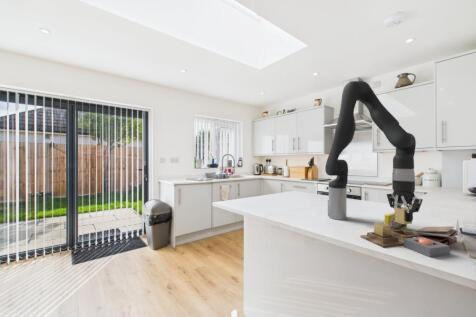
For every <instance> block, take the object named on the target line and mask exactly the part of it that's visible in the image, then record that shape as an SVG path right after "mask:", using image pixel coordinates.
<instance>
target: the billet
mask: <svg viewBox="0 0 476 317" xmlns="http://www.w3.org/2000/svg"><path fill="white" fill-rule="evenodd" d="M394 213H395V222H398V223H401V224H407V225H410V224H411V225H412V224H413V221H412V222H407V221H406V213H407V212H406V208H405V207H404V206H401V207H396V208H395V210H394Z"/></svg>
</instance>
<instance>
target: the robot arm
mask: <svg viewBox="0 0 476 317" xmlns="http://www.w3.org/2000/svg"><path fill="white" fill-rule="evenodd" d="M357 102H360V103H362V104H363V105H364V106H365V107H366V108H367V110H368V112H369V115H370V118H371V120H372V122H373V123H374V124H375V125H376V126H377V127H378V129H379V130H380V132H382V133H383V134H384V136H385V138H386V139H387V140H388V143H390V145H391V146H393V147H394V148H395V155H394V156H393V158H392V171H391V172H392V173H391V178H392V181H391V182H392V184H391V185H392V187H391V188H392V190H393V192H392V193H387V194H386V198H387V201H388V204H389V207H390V208H393V209H394V211H395V208H396V207H404V208H406V212H407V213H406V221H407V222H412V223H413V220H414V213H419V211H420V208H421V206H422V204H423V199H422V198H419V197H416V195H415V191H416V174H415V160H414V159H415V158H414V157H415V154H416V153H415V152H416V144H417V142H416V137H415V135H413V134H412V133H410V132H407V131H406V130H405V129H404V128H403V127H402V126H401V124H400V122H399V121H398V119H396V117H395V116H394V115H393V114H392V113H391V112H390V111H389V110H388V109H387V108H386V107H385V105H384V104H383V103H382V102H381V101H380V99H379V98H378V96H377V94H375V92H374V90H373V89H372V87H371V86H370V85H369V84H368V82H366V81H364V80H352V81H349V82H347V83H346V84H345V85H344V88H343V90H342V94H341V101H340V108H339V114H338V119H337V124H336V127H335V130H334V131H335V132H334V135H333V140H332V144H331V148H330V151H329V153H328V157H327V159H326V163H325V166H324V169H325V173H326V174H327V176H331V177H332V176H334V177H335V176H336V178H335V179H333V180H331V181H329V183H328V199H327V217H329V218H330V219H333V220H338V221H339V220H341V221H342V220H347V213H348V212H347V186H348V185H347V184H348V182H349V181H348V178H349V177H348V176H349V165H348V163H347V161H346V160H345V159H339V157H340V156H341V154H342V152H343V151H344V150H345V149H346V148H347V147H348V146H349V145H350V144H351V143H352V141H353V139H354V135H355V132H356V128H357V127H356V126H357V125H356V121H355V115H354V114H355V108H356V104H357Z"/></svg>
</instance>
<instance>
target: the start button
mask: <svg viewBox="0 0 476 317" xmlns="http://www.w3.org/2000/svg"><path fill="white" fill-rule="evenodd" d="M426 238H427V237H424V238H419V243H422V244H425V245H428V246H429V245H433V241H434V240H433V239H430V238H427V239H426ZM432 240H433V241H432Z"/></svg>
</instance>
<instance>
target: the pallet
mask: <svg viewBox="0 0 476 317" xmlns="http://www.w3.org/2000/svg"><path fill="white" fill-rule="evenodd" d="M418 236H420V237H421V235H420V234H417V233H414V232H412V231H409V230H406V229H400V230H391V237H388V238H381V237H379V236H376V235H374V231H372V232H371V231H370V232H366V234H362V235H360V238H362V240H366V241H368V242H370V243H372V244H374V245H377V246H379V247H381V248H392V247H400V246H404V239H406V238H413V237H418Z"/></svg>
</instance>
